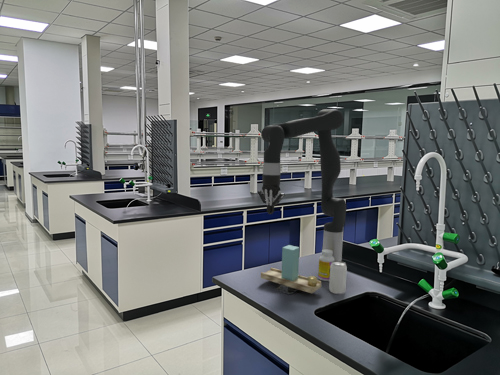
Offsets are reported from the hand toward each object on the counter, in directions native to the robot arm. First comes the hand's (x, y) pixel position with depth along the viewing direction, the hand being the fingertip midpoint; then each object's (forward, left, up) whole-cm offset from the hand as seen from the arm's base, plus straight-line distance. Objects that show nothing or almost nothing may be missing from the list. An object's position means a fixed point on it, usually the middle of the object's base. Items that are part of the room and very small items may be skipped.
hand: (270, 213), depth 155 cm
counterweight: (+19, +12, -25) cm, 34 cm away
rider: (+11, +6, -25) cm, 28 cm away
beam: (+12, +6, -27) cm, 30 cm away
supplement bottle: (+5, +25, -29) cm, 39 cm away
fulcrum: (+12, +6, -29) cm, 32 cm away
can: (+18, +24, -29) cm, 42 cm away
